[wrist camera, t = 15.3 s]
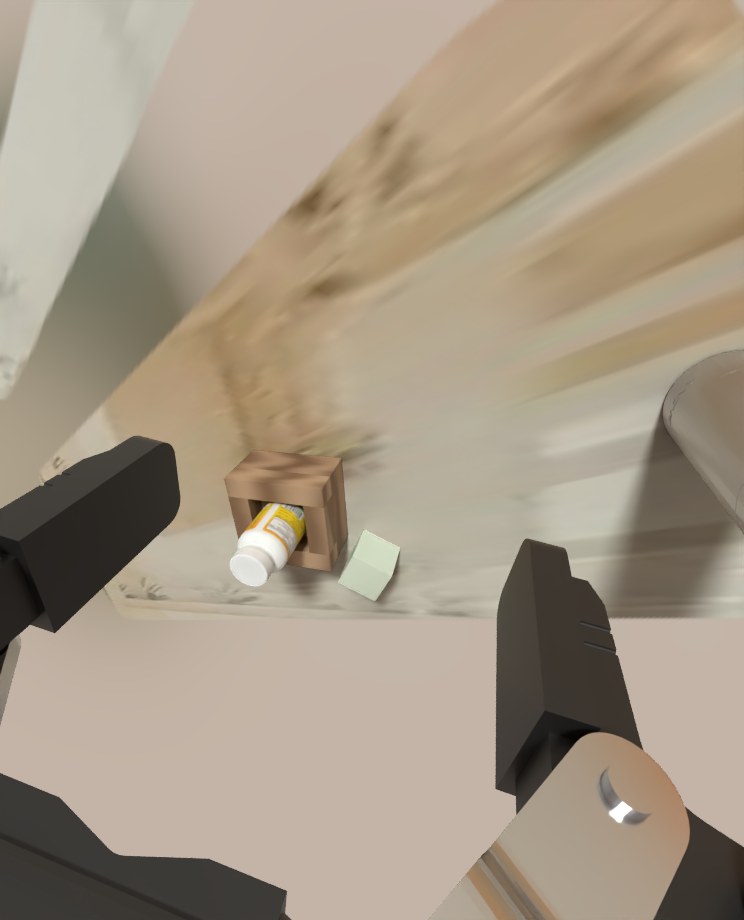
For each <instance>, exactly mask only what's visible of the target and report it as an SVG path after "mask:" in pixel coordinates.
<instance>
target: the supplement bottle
mask: <svg viewBox="0 0 744 920" xmlns="http://www.w3.org/2000/svg"><path fill="white" fill-rule="evenodd" d="M305 532H306V523H305V516H304V509H303V506H302V505H294V504H285V503H277V502H268V503H267V504H266V506H265V507H264V508H263V509H262V510H261V512H260V513H259V514H258V515H257V517H256V518H255V519H254V520H253V521H252V523H251V524H250V525H249V526H248V528H247V529H246V530H245V531H244V533H243V534H242V535H241V536H240V538H239V540H238V545H237V549H238V550H237V551H236V553H235V555H234V556H233V557H232V559H231V560H230V569H231V572H232V573H233V575H234V576H235V577H236V578H237V579H238V580H239V581H241V582H242V583H244V584H246V585H249V586H255V587H256V586H261V585H263V584H265V583H266V581H267V580H268V578H269V577H270V576H271V574H272V573H275V572H277V571H279V570H280V569H282V568H283V567H284V565H285V564H286V562H287V561H288V559H289V558H290V556H291V554H292V553H293V551H294V549H295V548H296V546H297V545H298V543H299V541H300V540H301V538H302V536H303V535H304V533H305Z"/></svg>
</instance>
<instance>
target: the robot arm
mask: <svg viewBox="0 0 744 920" xmlns="http://www.w3.org/2000/svg"><path fill="white" fill-rule="evenodd" d="M663 421H664V425H665V427H666V429H667V432H668V433H669V435H670V436H671V437H672V439H673V440H674V441H675V442H676V444H677V445H678V447H679V448H680V449H681V451H682V452H683V454H684V455H685V456H686V458H687V459H688V460H689V462H690V463H691V464H692V466H693V467H694V468H695V470H696V471H697V472H698V474H699V475H700V476H701V478H702V479H703V480H704V482H705V483H706V484H707V486H708V487H709V488H710V490H711V491H712V492H713V494H714V495H715V496H716V498H717V499H718V500H719V502H720V503H721V504H722V506H723V507H724V508H725V510H726V511H727V512H728V514H729V515H730V516H731V518H732V519H733V520H734V522H735V523H736V524H737V526H738V527H739V528H740V530H741V531H742V532H743V534H744V350H736V351H730V352H724V353H721V354H718V355H715V356H712V357H709V358H707V359H705V360H703V361H701V362H699V363H697V364H696V365H694V366H693V367H691V368H690V369H689V370H687V371H686V372H685V373H684V374H683V375H682V376H681V377H680V378H679V379H678V380H677V381H676V382H675V383H674V385H673V386H672V388H671V389H670V391H669V392H668V394H667V397H666V399H665V402H664V406H663ZM179 506H180V491H179V483H178V475H177V467H176V459H175V452H174V449H173V447H172V446H171V445H170V444H168V443H165V442H161V441H157V440H153V439H149V438H146V437H142V436H133V437H131V438H129V439H127V440H126V441H124V442H123V443H121V444H119V445H118V446H116V447H114V448H113V449H111V450H110V451H107V452H104V453H101V454H98V455H95V456H92V457H89V458H86V459H83V460H81V461H80V462H78V463H76V464H75V465H73V466H71V467H70V468H68V469H66V470H65V471H63V472H62V475H56V476H55V477H53V478H51V479H50V480H48V481H46V482H45V483H44V486H39V487H36V488H35V489H33V490H32V491H30V492H28V493H26V494H25V495H23V496H21V497H20V498H18V499H16V500H15V501H13V502H12V503H10V504H8V505H6V506H5V507H3V508H1V509H0V724H1V720H2V717H3V713H4V709H5V705H6V702H7V698H8V694H9V690H10V686H11V683H12V679H13V675H14V671H15V667H16V664H17V660H18V656H19V652H20V648H21V639H20V636H19V634H20V633H21V632H22V631H23V630H24V629H26V628H27V627H28V626H29V625H33V626H36V627H39V628H42V629H44V630H48V631H50V632H53V633H56V632H57V631H58V630H59V629H60V628H61V627H62V626H63V625H64V624H65V623H66V622H67V621H68V620H69V619H70V618H71V617H72V616H73V615H74V614H76V612H78V611H79V609H81V608H82V607H83V606H84V605H85V604H86V603H87V602H88V601H89V600H90V599H91V598H92V597H93V596H94V595H95V594H96V593H98V592H99V590H101V589H102V588H103V587H104V586H105V585H106V584H107V583H108V582H109V581H110V580H111V579H112V578H113V577H114V576H115V575H117V574H118V573H119V572H120V571H121V570H122V569H123V568H124V567H125V566H126V565H127V564H128V563H129V562H130V561H131V560H132V559H133V558H134V557H135V556H136V555H138V554H139V553H140V552H141V551H142V550H143V549H144V548H145V547H146V546H147V545H148V544H149V543H150V542H151V541H152V540H153V539H154V538H155V537H156V536H158V535H159V534H160V533H161V532H162V531H163V530H164V529H165V528H166V527H167V526H168V525H169V524H170V523H171V522H172V521H173V519H174V518H175V516H176V514H177V512H178V509H179ZM610 630H611V628H610V624H609V620H608V617H607V613H606V609H605V605H604V604H603V602H602V601H601V599H600V598H599V596H598V595H597V594H596V592H595V591H594V589H593V588H592V586H591V585H590V584H589V582H588V581H586V580H582V579H578V578H574V577H572V576H571V571H570V566H569V561H568V555H567V552H566V550H565V549H564V548H562V547H558V546H554V545H550V544H546V543H543V542H539V541H535V540H531V539H525V540H524V541H523V543H522V545H521V547H520V550H519V552H518V555H517V557H516V559H515V562H514V564H513V566H512V569H511V571H510V574H509V576H508V578H507V581H506V583H505V586H504V588H503V591H502V594H501V597H500V601H499V606H498V613H497V674H496V677H497V678H496V789H498V790H500V791H503V792H506V793H509V794H512V795H514V796H516V816H515V818H514V819H513V820H512V821H511V823H510V824H509V825H508V826H507V827H506V829H505V830H504V831H503V832H502V834H501V835H500V836H499V837H498V839H497V840H496V841H495V842H494V843H493V844H492V846H491V847H490V848H489V849H488V850H487V851H486V852H485V853H484V854H483V855H482V856H481V857H480V858H479V859H478V861H477V862H476V863H475V864H474V866H472V868H471V869H470V870H469V871H468V872H467V874H466V875H465V876H464V877H463V878H462V880H461V881H460V882H459V883H458V884H457V886H456V887H455V888H454V889H453V891H452V892H451V893H450V894H449V895H448V897H447V898H446V899H445V900H444V901H443V903H442V904H441V905H440V906H439V907H438V909H437V910H436V911H435V912H434V914H433V915H432V916H431V917H430V918H429V920H744V847H742V846H741V845H739V844H738V843H736V842H735V841H733V840H732V839H730V838H728V837H727V836H726V835H724V834H722V833H721V832H719V831H718V830H716V829H715V828H713V827H712V826H710V825H709V824H707V823H706V822H704V821H703V820H701V819H700V818H699V817H697V816H696V815H694V814H693V813H692V812H691V811H690V810H689V809H687V808H686V807H685V806H684V804H683V801H682V799H681V796H680V795H679V793H678V791H677V790H676V787H675V786H674V784H673V783H672V781H671V780H670V778H669V777H668V775H667V774H666V773H665V772H664V771H663V769H662V768H661V767H660V766H659V765H658V764H657V763H656V762H655V761H654V760H653V759H652V758H651V757H650V756H649V755H648V754H646V753H645V752H644V751H643V748H642V745H641V742H640V738H639V734H638V731H637V727H636V723H635V719H634V715H633V712H632V708H631V704H630V700H629V696H628V693H627V689H626V685H625V681H624V678H623V674H622V670H621V666H620V663H619V658H618V656H617V655H615V653H616V647H615V643H614V640H613V636H612V634H610ZM286 895H287V891H286V890H283V889H281V888H278V887H276V886H274V885H271V884H268V883H266V882H264V881H261V880H259V879H256V878H254V877H252V876H249V875H247V874H244V873H242V872H239V871H237V870H234V869H232V868H229V867H227V866H225V865H222V864H220V863H218V862H215V861H212V860H210V859H196V858H169V857H140V856H122V855H118V854H115V853H113V852H112V851H111V850H109V849H108V848H107V847H106V846H105V845H104V843H102V841H101V840H100V839H99V838H98V837H97V836H96V835H95V834H94V833H93V832H92V831H91V830H90V829H89V828H88V827H87V826H86V825H85V824H84V823H83V822H82V820H81V819H80V818H79V817H78V816H77V815H76V814H75V813H74V812H73V811H72V810H71V809H70V808H69V807H68V806H67V805H66V804H65V803H64V802H63V801H62V800H61V799H60V798H59V797H57V796H54V795H52V794H49V793H47V792H45V791H42V790H40V789H37V788H35V787H33V786H30V785H28V784H25V783H23V782H20V781H18V780H15V779H13V778H10V777H8V776H6V775H3V774H1V773H0V920H291V919H290V918H289V917H288V916H287V915H286V914H285V907H286Z"/></svg>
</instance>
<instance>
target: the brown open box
mask: <svg viewBox="0 0 744 920" xmlns="http://www.w3.org/2000/svg"><path fill="white" fill-rule="evenodd" d="M224 480H225V485H226V489H227V493H228V497H229V501H230V505H231V509H232V514H233V518H234V522H235V526H236V530H237V534H238V539H239V538H240V536H241V535H242V534H243V533H244V531H245V530H246V529H247V528H248V526H249V525H250V524H251V523H252V521H253V520H254V519H255V518H256V517H257V515H258V514H259V513H260V512H261V510H262V509H263V508H264V507H265V506H266V504H267V503H268V502H277V503H285V504H294V505H302V506H303V509H304V516H305V523H306V532H305V533H304V535H303V536H302V538H301V540H300V541H299V543H298V545H297V546H296V548H295V549H294V551H293V553H292V554H291V556H290V558H289V559H288V561H287V562H286V564H287V565H294V566H300V567H306V568H313V569H319V570H326V571H331V570H332V568H333V566H334V564H335V562H336V560H337V557H338V555H339V553H340V551H341V549H342V547H343V545H344V543H345V540H346V538H347V536H348V529H347V517H346V505H345V493H344V481H343V469H342V458H334V457H323V456H312V455H301V454H290V453H280V452H269V451H258V450H253V451H252V452H251V453H250V454H249V455H248V456H247V457H246V458H245V459H244V460H243V461H242V462H240V463H239V464H238V465H237V466H236V467H235V468H234V469H233V470H232V471H231V472H230V473H229V474H228V475H227V476H226V477H225V478H224Z"/></svg>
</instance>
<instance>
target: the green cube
mask: <svg viewBox="0 0 744 920" xmlns="http://www.w3.org/2000/svg"><path fill="white" fill-rule="evenodd" d="M399 551H400V548H399V547H397V546H395V545H394V544H392V543H390V542H388V541H386V540H384V539H382V538H380V537H378V536H376V535H374V534H372V533H370V532H368V531H366V530H363V532H362V534H361V536H360V537H359V539H358V541H357V543H356V545H355V546H354V548H353V550H352V552H351V553H350V555H349V558H348V560H347V562H346V564H345V567H344V569H343V571H342V574H341V576H340V578H339V580H338V583H339V584H341V585H343V586H345V587H347V588H349V589H351V590H353V591H355V592H357V593H359V594H361V595H363V596H365V597H367V598H369V599H371V600H373V601H376V599H377V598H378V596H379V595H380V593H381V592H382V590H383V589H384V587H385V586H386V584H387V583H388V581H389V580H390V579H391V577H392V574H393V571H394V568H395V564H396V561H397V558H398V554H399Z"/></svg>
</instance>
